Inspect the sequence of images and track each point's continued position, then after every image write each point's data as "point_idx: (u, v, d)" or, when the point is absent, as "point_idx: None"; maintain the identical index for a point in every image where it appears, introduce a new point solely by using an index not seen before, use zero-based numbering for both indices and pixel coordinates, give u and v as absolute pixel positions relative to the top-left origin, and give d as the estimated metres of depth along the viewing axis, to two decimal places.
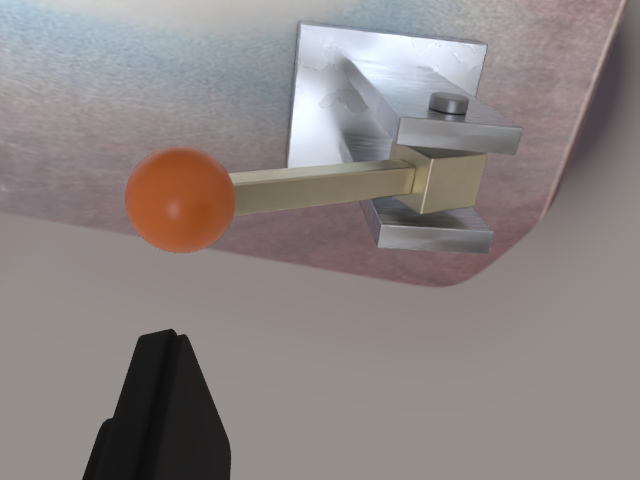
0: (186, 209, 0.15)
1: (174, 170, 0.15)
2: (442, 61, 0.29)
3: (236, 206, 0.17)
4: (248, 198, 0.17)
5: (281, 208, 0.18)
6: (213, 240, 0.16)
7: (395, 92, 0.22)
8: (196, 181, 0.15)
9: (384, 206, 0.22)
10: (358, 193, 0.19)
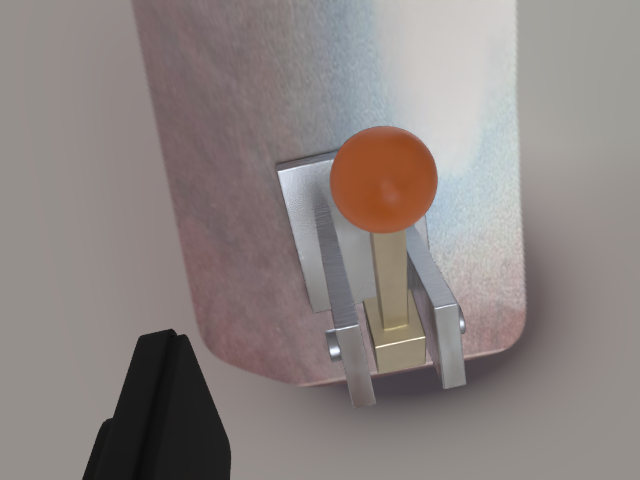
0: (407, 207, 0.15)
1: (432, 180, 0.16)
2: None
3: None
4: None
5: (378, 256, 0.19)
6: (365, 229, 0.16)
7: None
8: (428, 203, 0.16)
9: None
10: (388, 299, 0.21)
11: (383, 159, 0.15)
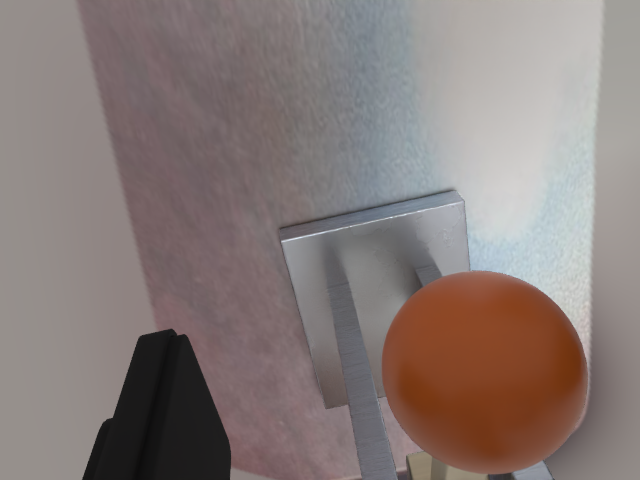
0: (541, 449, 0.08)
1: (585, 389, 0.08)
2: None
3: None
4: None
5: None
6: None
7: None
8: (573, 427, 0.08)
9: None
10: None
11: (499, 364, 0.08)
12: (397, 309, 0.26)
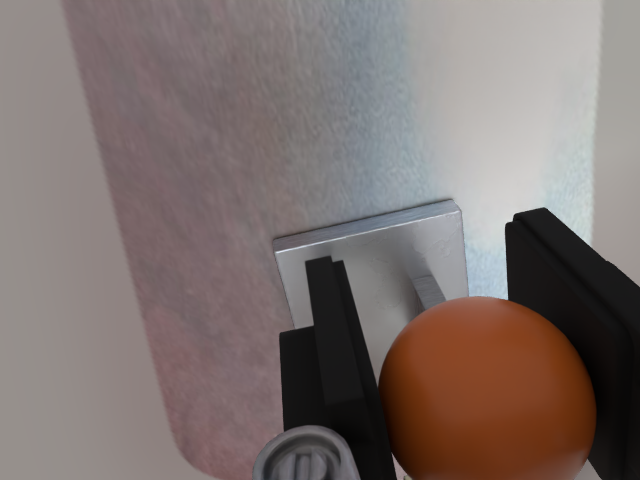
0: None
1: (594, 425, 0.08)
2: None
3: None
4: None
5: None
6: None
7: None
8: None
9: None
10: None
11: (504, 402, 0.07)
12: (393, 320, 0.25)
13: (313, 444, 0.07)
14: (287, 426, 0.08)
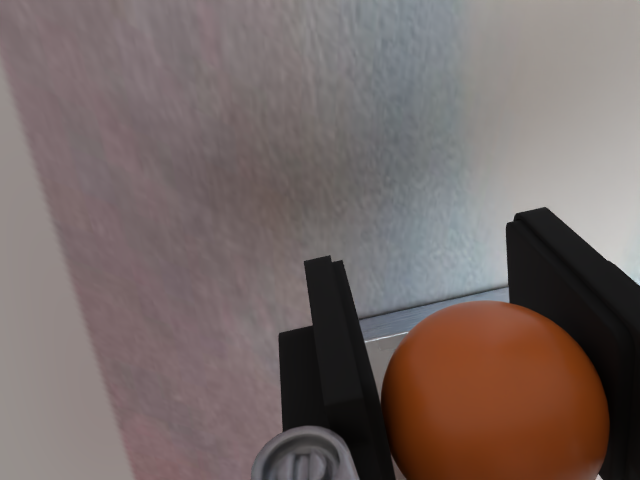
0: (557, 451, 0.07)
1: (600, 395, 0.07)
2: None
3: None
4: None
5: None
6: None
7: None
8: (600, 448, 0.07)
9: None
10: None
11: (487, 342, 0.07)
12: None
13: (312, 444, 0.07)
14: (286, 426, 0.08)
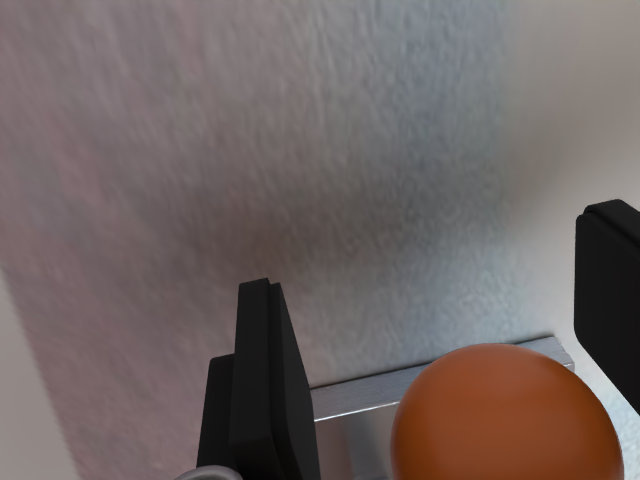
0: (563, 470, 0.07)
1: (607, 424, 0.07)
2: None
3: None
4: None
5: None
6: None
7: None
8: (613, 477, 0.07)
9: None
10: None
11: (487, 367, 0.07)
12: None
13: None
14: (200, 462, 0.08)
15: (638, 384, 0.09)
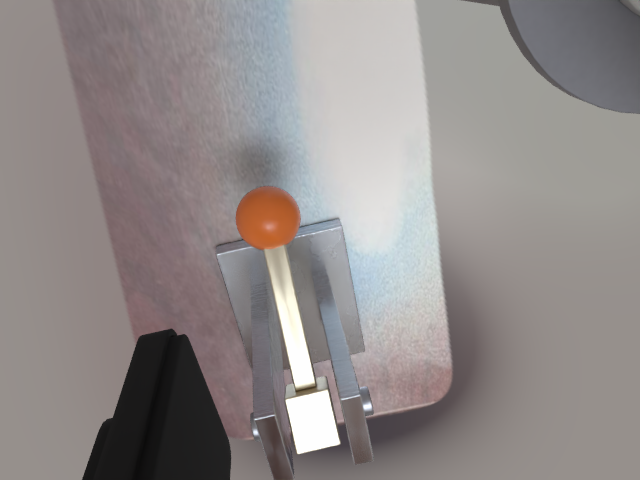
0: (272, 208, 0.26)
1: (290, 202, 0.27)
2: (344, 329, 0.38)
3: (270, 250, 0.27)
4: (277, 256, 0.27)
5: (272, 282, 0.27)
6: (251, 233, 0.26)
7: None
8: (288, 213, 0.26)
9: (275, 395, 0.27)
10: (290, 341, 0.27)
11: (259, 188, 0.27)
12: (301, 302, 0.36)
13: None
14: None
15: None
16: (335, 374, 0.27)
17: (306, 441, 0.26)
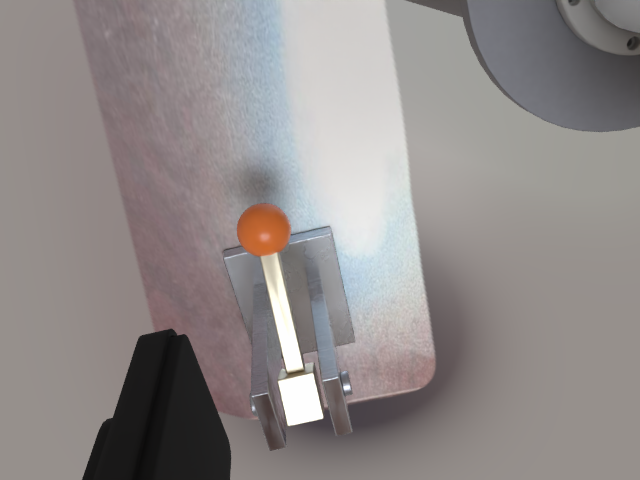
0: (266, 223, 0.31)
1: (282, 217, 0.32)
2: (336, 322, 0.43)
3: (265, 257, 0.32)
4: (271, 262, 0.32)
5: (267, 284, 0.32)
6: (249, 243, 0.32)
7: None
8: (279, 226, 0.32)
9: (269, 377, 0.32)
10: (282, 333, 0.32)
11: (256, 205, 0.32)
12: (297, 298, 0.42)
13: None
14: None
15: None
16: (319, 360, 0.32)
17: (295, 415, 0.32)
